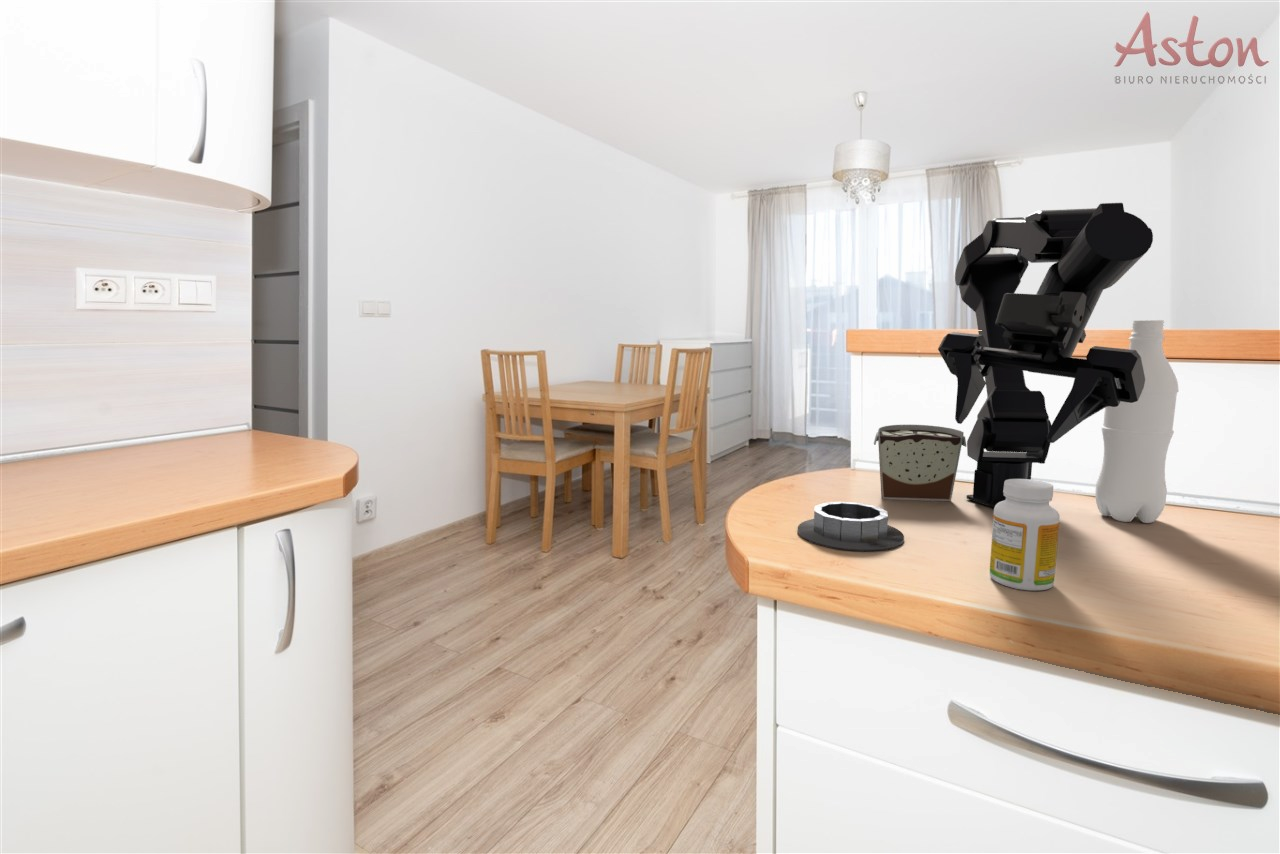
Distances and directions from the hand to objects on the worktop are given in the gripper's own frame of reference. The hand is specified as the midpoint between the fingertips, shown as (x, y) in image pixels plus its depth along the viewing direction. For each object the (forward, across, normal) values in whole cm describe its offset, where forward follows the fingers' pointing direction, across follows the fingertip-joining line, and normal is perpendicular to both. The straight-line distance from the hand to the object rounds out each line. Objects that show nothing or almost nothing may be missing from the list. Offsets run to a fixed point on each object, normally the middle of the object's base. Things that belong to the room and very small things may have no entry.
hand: (1001, 430), depth 67 cm
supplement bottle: (+14, +6, +3) cm, 16 cm away
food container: (+2, -18, +24) cm, 30 cm away
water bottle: (-6, +6, +30) cm, 31 cm away
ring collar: (+15, -12, +4) cm, 20 cm away
